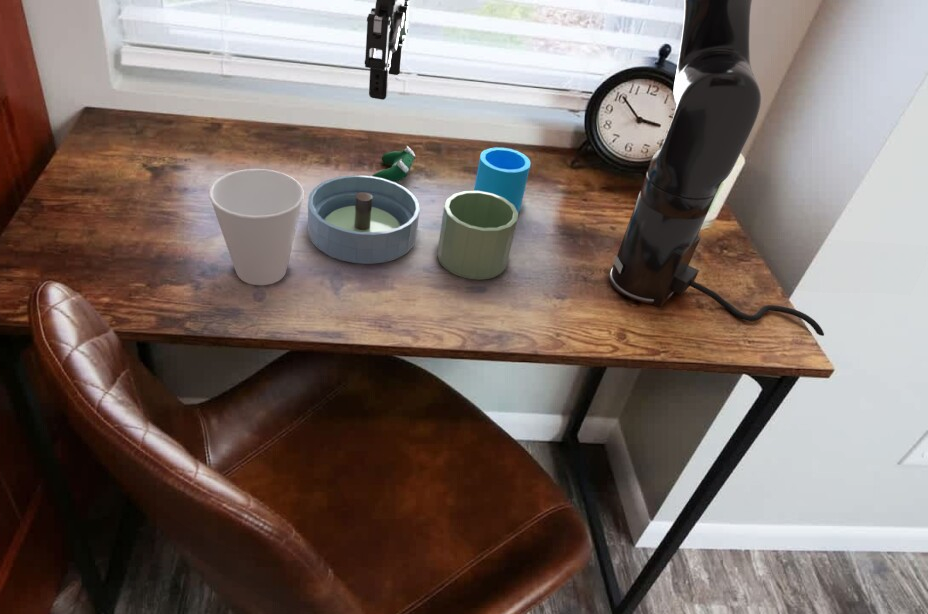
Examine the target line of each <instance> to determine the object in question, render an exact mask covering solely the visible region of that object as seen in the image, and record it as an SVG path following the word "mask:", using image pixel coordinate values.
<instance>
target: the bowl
mask: <svg viewBox="0 0 928 614" xmlns="http://www.w3.org/2000/svg"><path fill="white" fill-rule="evenodd" d="M361 192H365V193H369V194H371V195H372V207H374V208H378V209H381V210H383V211H386V212H388V213H389V214H391V215H392V216H393V217H394V218H395V219H396V220H397V221H398V223H399V225H400V227H398V228H395V229H391V230H388V231H382V232H357V231H352V230H347V229H343V228H340V227H337V226H335V225H332V224H330V223H329V222H327V221H325V219H326V217H327V216H328V215H329V214H330V213H331V212H333V211H335V210H337V209H339V208H343V207H347V206H355V203H356V195H357V194H358V193H361ZM307 199H308V200H307V234H308V236H309V240H310V242H311V243H312V244H313V245H314V247H315V248H317V249H318V250H319V251H321V252H322V253H324V254H326V255H327V256H329V257H331V258H334V259H337V260H339V261H342V262H348V263H354V264H364V265H365V264H367V265H372V264H381V263H382V264H383V263H387V262H390V261H393V260H397V259H399V258H401V257H402V256H404V255H406V254H408V253H409V251H410V250H411V249H412V248H413V247H414V245H415V243H416V240H417V236H418V226H419V218H420V211H421V210H420V202H419V201H418V199H417V197H416V196H415V195H414V193H412V192H411V191H410V190H409V189H408V188H407V187H405V186H403V185H401V184H399V183H397V182H392V181H389V180H386V179H383V178H378V177H373V175H361V174H360V175H359V174H355V175H341V176H338V177H332V178H330V179H328V180H325V181H323V182H321V183H319V184H318V185H316V186H315V187H314V188H313V189H312V190H311V192H310V193H309V195H308V197H307Z"/></svg>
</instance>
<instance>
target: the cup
mask: <svg viewBox="0 0 928 614" xmlns="http://www.w3.org/2000/svg"><path fill="white" fill-rule="evenodd" d="M208 198H209V201H210V202H211V205H212V207H213V211H214V214H215V217H216V219H217V222H218V225H219V228H220V231H221V233H222V236H223V239H224V242H225V244H226V248H227V250H228V253H229V256H230V259H231V262H232V264H233V265H232V266H233V267H234V270H235V273H236V275H237V277H238V278H239V279H240V280H241V281H242V282H245V283H246V284H250V285H252V286H268V285H273V284H276V283H277V282H279V281H281V280H283V278H284V277H285V275H286V273H287V270H288V265H289V260H290V256H291V252H292V247H293V243H294V239H295V234H296V230H297V227H298V222H299V218H300V213H301V208H302V204H303V202H304V198H305V191H304V187H303V186H302V184H301V183H300V182H299V181H298V180H296V179H295V178H294V177H292V176H290V175H288V174H286V173H284V172H281V171H276V170H272V169H266V168H264V169H263V168H245V169H241V170H235V171H232V172H228V173H226V174H223V175H222V176H220V177H218V178H217V179H216V180H215V181H214V182H213V183H212V184H211V185H210V188H209V189H208Z"/></svg>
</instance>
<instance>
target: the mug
mask: <svg viewBox="0 0 928 614" xmlns="http://www.w3.org/2000/svg"><path fill="white" fill-rule="evenodd" d="M530 169H531V160H530V158H529V157H528V156H527V155H525V154H524V153H522V152H520V151H518V150H516V149H513V148H508V147H497V146H496V147H490V148H487V149H484V150H483V151H482V152H481V153H480V154H479V161H478V165H477V171H476V177H475V183H474V188H473V191H483V192H488V193H493V194H495V195H498V196H500V197H503V198H505V199H506V200H507V201H509V202H510V203H511V204H513V205H514V206H515V208H516V210H517V212H518V213H519V212H520V211H521V207H522V204H523V199H524V195H525V191H526V186H527V182H528V178H529V173H530Z"/></svg>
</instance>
